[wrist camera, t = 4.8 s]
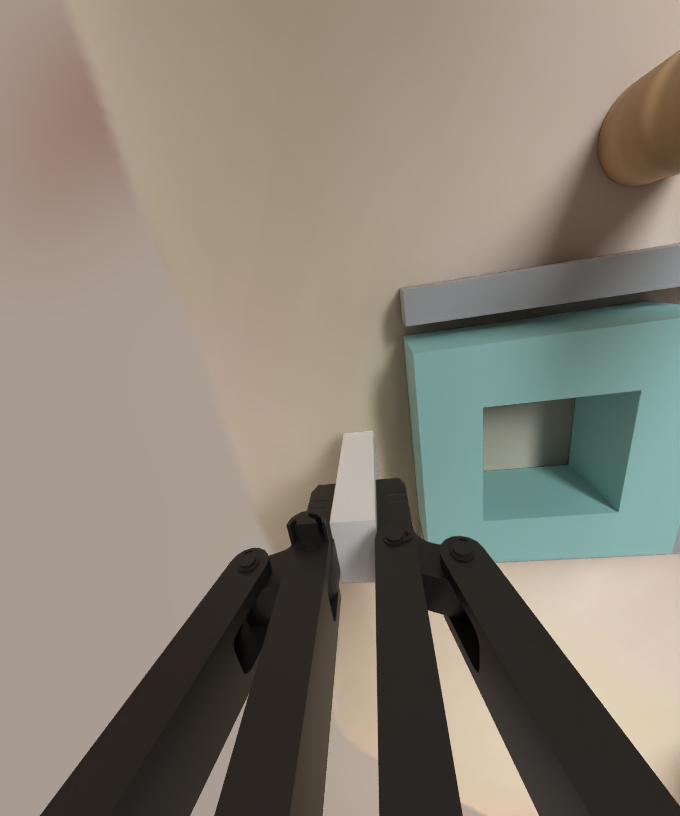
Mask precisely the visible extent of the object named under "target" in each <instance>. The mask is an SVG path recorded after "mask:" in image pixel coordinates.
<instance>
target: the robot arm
mask: <svg viewBox="0 0 680 816" xmlns="http://www.w3.org/2000/svg"><path fill="white" fill-rule="evenodd" d="M287 529H288V533H289V536H290V540H291V544H292V545H291V547H290V548H288V549H287V550H284V551H282V552H279V553H276V554H273V555H270V556H268V554H267V553H266V551H265V550H263V549H260V548H251V549H248V550H245V551H243V552H241V553H240V554H238V555H237V556H236V557H235V558H234V559H233V560H232V561H231V562H230V564H229V565H228V566H227V568H226V569H225V570H224V572H223V573H222V574H221V576H220V577H219V578H218V580H217V581H216V582H215V584H214V585H213V586H212V588H211V589H210V590H209V592H208V593H207V595H206V596H205V597H204V598H203V599H202V601H201V602H200V603H199V605H198V606H197V607H196V609H195V610H194V612H193V613H192V614H191V615H190V617H189V618H188V619H187V621H186V622H185V623H184V625H183V626H182V627H181V629H180V630H179V631H178V633H177V634H176V636H175V637H174V638H173V639H172V641H171V642H170V643H169V645H168V646H167V647H166V649H165V650H164V652H163V653H162V654H161V656H160V657H159V658H158V659H157V661H156V662H155V663H154V665H153V666H152V667H151V669H150V670H149V671H148V673H147V674H146V675H145V677H144V678H143V679H142V681H141V682H140V683H139V685H138V686H137V687H136V689H135V690H134V691H133V693H132V694H131V695H130V697H129V698H128V699H127V701H126V702H125V703H124V705H123V706H122V707H121V709H120V710H119V711H118V712H117V714H116V715H115V716H114V718H113V719H112V720H111V722H110V723H109V724H108V726H107V727H106V728H105V730H104V731H103V732H102V734H101V735H100V737H99V738H98V739H97V741H96V742H95V743H94V744H93V746H92V747H91V748H90V750H89V751H88V752H87V754H86V755H85V756H84V758H83V759H82V760H81V762H80V763H79V764H78V766H77V767H76V768H75V770H74V771H73V772H72V774H71V775H70V776H69V778H68V779H67V780H66V782H65V783H64V784H63V786H62V787H61V789H60V790H59V791H58V792H57V794H56V795H55V796H54V798H53V799H52V800H51V802H50V803H49V804H48V806H47V807H46V808H45V810H44V811H43V812H42V814H41V815H40V816H190V815H191V812H192V810H193V808H194V806H195V804H196V802H197V800H198V798H199V796H200V794H201V792H202V790H203V788H204V785H205V783H206V781H207V779H208V777H209V775H210V773H211V771H212V769H213V767H214V765H215V763H216V761H217V759H218V757H219V754H220V752H221V750H222V748H223V746H224V744H225V742H226V740H227V738H228V736H229V734H230V732H231V729H232V727H233V725H234V723H235V721H236V719H237V717H238V715H239V713H240V711H241V709H242V707H243V705H244V703H245V701H246V698H247V696H248V694H249V696H248V699H247V703H246V706H245V710H244V713H243V717H242V721H241V724H240V728H239V732H238V735H237V738H236V742H235V745H234V749H233V753H232V756H231V759H230V763H229V766H228V770H227V773H226V777H225V780H224V784H223V787H222V791H221V794H220V798H219V801H218V805H217V809H216V812H215V815H214V816H322V814H323V803H324V792H325V780H326V768H327V756H328V743H329V732H330V721H331V709H332V697H333V685H334V673H335V662H336V650H337V638H338V626H339V614H340V602H341V594H340V589H339V579H340V577H341V582H342V583H362V582H375V588H376V647H377V706H378V766H379V816H463V815H462V809H461V803H460V797H459V791H458V785H457V780H456V774H455V768H454V762H453V756H452V750H451V744H450V739H449V733H448V727H447V721H446V715H445V709H444V703H443V698H442V692H441V686H440V680H439V674H438V668H437V662H436V657H435V651H434V645H433V639H432V633H431V627H430V621H429V616H428V610H429V611H433V612H436V613H440V614H443V615H444V618H445V620H446V622H447V624H448V626H449V628H450V630H451V632H452V634H453V637H454V639H455V641H456V643H457V645H458V647H459V649H460V651H461V653H462V655H463V657H464V660H465V662H466V664H467V666H468V668H469V670H470V672H471V674H472V676H473V678H474V680H475V683H476V685H477V687H478V689H479V691H480V693H481V695H482V697H483V699H484V701H485V703H486V705H487V708H488V710H489V712H490V714H491V716H492V718H493V720H494V722H495V724H496V726H497V728H498V731H499V733H500V735H501V737H502V739H503V741H504V743H505V745H506V747H507V749H508V751H509V754H510V756H511V758H512V760H513V762H514V764H515V766H516V768H517V770H518V772H519V774H520V776H521V779H522V781H523V783H524V785H525V787H526V789H527V791H528V793H529V795H530V797H531V799H532V802H533V804H534V806H535V808H536V810H537V812H538V814H539V816H680V806H679V805H678V803H677V802H676V801H675V799H674V798H673V797H672V795H671V794H670V793H669V791H668V790H667V789H666V787H665V786H664V785H663V784H662V782H661V781H660V780H659V778H658V777H657V776H656V774H655V773H654V772H653V770H652V769H651V768H650V766H649V765H648V764H647V762H646V761H645V760H644V758H643V757H642V756H641V755H640V753H639V752H638V751H637V749H636V748H635V747H634V745H633V744H632V743H631V741H630V740H629V739H628V737H627V736H626V735H625V733H624V732H623V731H622V729H621V728H620V727H619V726H618V724H617V723H616V722H615V720H614V719H613V718H612V716H611V715H610V714H609V712H608V711H607V710H606V708H605V707H604V706H603V704H602V703H601V702H600V700H599V699H598V698H597V697H596V695H595V694H594V693H593V691H592V690H591V689H590V687H589V686H588V685H587V683H586V682H585V681H584V679H583V678H582V677H581V675H580V674H579V673H578V671H577V670H576V669H575V668H574V666H573V665H572V664H571V662H570V661H569V660H568V658H567V657H566V656H565V654H564V653H563V652H562V650H561V649H560V648H559V646H558V645H557V644H556V642H555V641H554V640H553V639H552V637H551V636H550V635H549V633H548V632H547V631H546V629H545V628H544V627H543V625H542V624H541V623H540V621H539V620H538V619H537V617H536V616H535V615H534V613H533V612H532V611H531V610H530V608H529V607H528V606H527V604H526V603H525V602H524V600H523V599H522V598H521V596H520V595H519V594H518V592H517V591H516V590H515V588H514V587H513V586H512V584H511V583H510V582H509V581H508V579H507V578H506V577H505V575H504V574H503V573H502V571H501V570H500V569H499V567H498V566H497V565H496V563H495V562H494V561H493V559H492V558H491V557H490V555H489V554H488V553H487V552H486V550H485V549H484V548H483V546H482V545H480V544H479V543H478V542H477V541H475V540H473V539H471V538H469V537H464V536H452V537H450V538H447V539H445V540H444V541H443V542H442V543H441V545H440V544H435V543H431V542H428V541H425V540H423V539H421V538H420V537H419V536H418V535H416V533H415V532H414V530H413V527H412V522H411V516H410V511H409V505H408V499H407V493H406V487H405V484H404V483H403V482H402V481H401V480H400V479H399V478H393V479H380V480H379V474H378V466H377V458H376V450H375V442H374V434H373V430H372V431H362V432H352V433H344V436H343V442H342V448H341V454H340V461H339V467H338V473H337V479H336V484H327V485H318V486H317V487H316V488H315V490H314V491H313V492H312V494H311V497H310V503H309V505H308V510H307V511H305V512H301V513H299V514H297V515H295V516H294V517H293V518H291V519H290V520H289V522H288V524H287Z"/></svg>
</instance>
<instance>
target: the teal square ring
mask: <svg viewBox="0 0 680 816" xmlns="http://www.w3.org/2000/svg"><path fill="white" fill-rule="evenodd" d="M403 337H404V349H405V360H406V372H407V383H408V395H409V407H410V418H411V430H412V441H413V453H414V464H415V476H416V487H417V499H418V511H419V517H420V521H421V526H422V531H423V536H424V540H425V541H428V542H431V543H435V544H440V545H441V543H442V542H443V541H444V540H445V539H447V538H450V537H452V536H464V537H469V538H471V539H473V540H475V541H477V542H478V543H479V544H480V545H482V546H483V548H484V549H485V550H486V552H487V553H488V554H489V555H490V557H491V558H492V559H493V561H494V562H508V561H529V560H549V559H570V558H590V557H610V556H631V555H651V554H672V551H673V547H674V544H675V540H676V536H677V533H678V529H679V525H680V304H673V303H662V302H652V301H644V302H637V303H630V304H623V305H616V306H609V307H602V308H595V309H588V310H581V311H574V312H567V313H560V314H553V315H546V316H539V317H532V318H525V319H518V320H511V321H504V322H497V323H490V324H483V325H476V326H469V327H462V328H455V329H448V330H441V331H434V332H427V333H420V334H413V335H406V336H403ZM566 398H576V400H575V409H574V418H573V427H572V436H571V445H570V454H569V463H568V464H567V465H556V466H544V467H532V468H520V469H508V470H497V471H485V472H483V408H485V407H494V406H503V405H512V404H521V403H530V402H539V401H548V400H557V399H566Z"/></svg>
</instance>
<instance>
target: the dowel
mask: <svg viewBox="0 0 680 816" xmlns="http://www.w3.org/2000/svg"><path fill="white" fill-rule="evenodd" d="M598 154H599V160H600V163H601V166H602V168H603V170H604V172H605V173H606V174H607V176H608V177H609V178H610V179H612V180H613V181H615V182H616V183H618V184H621V185H625V186H641V185H645V184H649V183H652V182H655V181H658V180H661V179H664V178H667V177H670V176H673V175H676V174H679V173H680V50H679V51H678V52H676V53H675V54H674V55H672V56H671V57H669V58H668V59H667V60H665V61H664V62H663V63H661V64H660V65H658V66H657V67H656V68H654V69H653V70H651V71H650V72H649V73H647V74H646V75H645V76H643V77H642V78H640V79H639V80H638V81H636V82H635V83H634V84H632V85H631V86H630V87H628V88H627V89H626V90H625V91H624V92H623V93H622V94H621V95H620V96H619V97H618V99H617V100H616V101H615V103H614V104H613V105H612V107H611V109H610V110H609V112H608V114H607V116H606V118H605V120H604V122H603V125H602V128H601V131H600V135H599V142H598Z"/></svg>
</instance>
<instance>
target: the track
mask: <svg viewBox="0 0 680 816" xmlns="http://www.w3.org/2000/svg"><path fill="white" fill-rule="evenodd" d="M674 287H680V243H678V244H672V245H665V246H659V247H653V248H647V249H641V250H635V251H628V252H622V253H616V254H610V255H604V256H598V257H591V258H585V259H579V260H573V261H567V262H561V263H554V264H548V265H542V266H536V267H530V268H524V269H517V270H511V271H505V272H499V273H493V274H487V275H480V276H474V277H468V278H462V279H456V280H450V281H443V282H437V283H431V284H425V285H419V286H413V287H406V288H400V289H399V291H400V303H401V314H402V321H403V323H404V324H405V325H406V327H407V326H414V325H421V324H428V323H434V322H441V321H448V320H455V319H462V318H469V317H475V316H482V315H489V314H496V313H503V312H510V311H517V310H523V309H530V308H537V307H544V306H551V305H558V304H564V303H571V302H578V301H585V300H592V299H599V298H605V297H612V296H619V295H626V294H633V293H640V292H646V291H653V290H660V289H667V288H674ZM420 534H421V539H423V540H424V536H423V531H422V526H421V522H420ZM672 554H680V525H679V529H678V533H677V536H676V540H675V544H674V547H673V551H672ZM651 555H663V554H651ZM631 556H642V555H631ZM610 557H622V556H610ZM590 558H601V557H590ZM570 559H581V558H570ZM549 560H560V559H549ZM529 561H540V560H529ZM508 562H519V561H508ZM495 563H499V562H495Z"/></svg>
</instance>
